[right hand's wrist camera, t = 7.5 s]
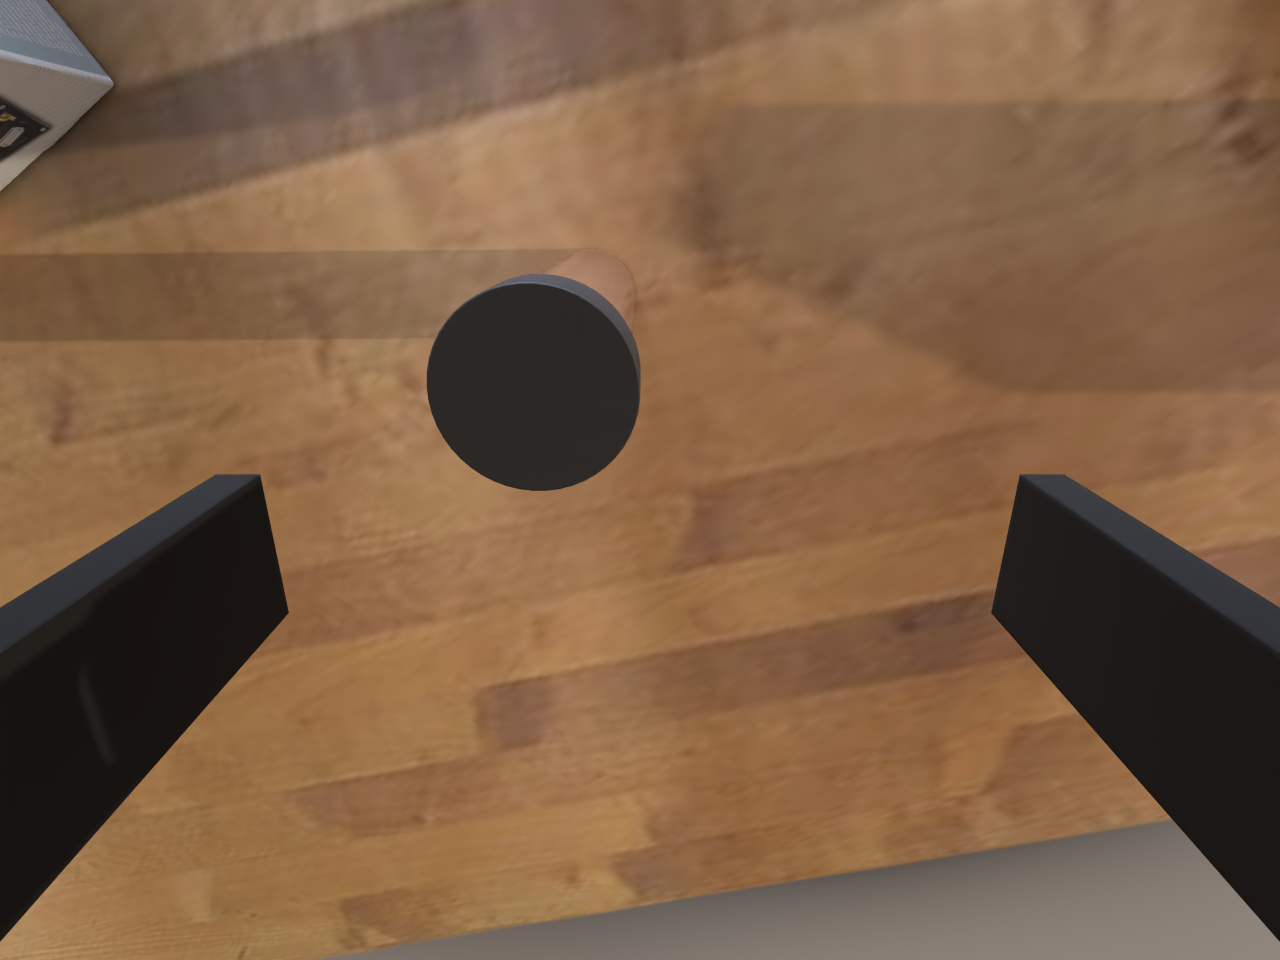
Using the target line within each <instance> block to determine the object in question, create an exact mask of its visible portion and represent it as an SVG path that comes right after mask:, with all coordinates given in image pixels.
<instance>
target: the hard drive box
mask: <svg viewBox="0 0 1280 960" xmlns="http://www.w3.org/2000/svg"><path fill="white" fill-rule="evenodd" d="M113 86H114V84H113V81H112V80H111V79H110V77H109V76H108V75H107V74H106V72H105V71H104V70H103V69H102V67H101V66H100V65H99V64H98V62H97V61H96V60H95V59H94V58H93V56H92V55H91V54H90V53H89V52H88V50H87V49H86V48H85V47H84V45H83V44H82V43H81V42H80V41H79V39H78V38H77V37H76V36H75V34H74V33H73V32H72V31H71V30H70V28H69V27H68V26H67V25H66V23H65V22H64V21H63V20H62V18H61V17H60V16H59V15H58V14H57V12H56V11H55V10H54V9H53V8H52V7H51V5H50V4H49V3H48V2H47V1H46V0H0V191H1V190H2V189H3V188H4V187H5V186H7V185H8V184H9V183H10V182H11V181H12V180H13V179H14V178H15V177H16V176H18V175H19V174H20V173H21V172H22V171H23V170H24V169H25V168H26V167H27V166H28V165H29V164H30V163H31V162H33V161H34V160H35V159H36V158H37V157H38V156H39V155H40V154H41V153H42V152H43V151H45V150H47V149H49V148H50V147H51V146H53V145H54V144H55V143H56V141H57V140H58V139H59V138H60V137H62V136H63V135H64V134H65V133H66V132H67V131H68V130H69V129H70V128H71V127H72V126H73V125H74V123H75V122H77V121H78V120H79V118H80V117H81V116H82V115H83V114H85V113H86V112H87V111H88V110H89V109H90V108H91V107H92V106H93V105H94V104H95V103H96V102H97V101H98V100H99V99H100V98H101V97H102V96H103V95H104V94H106V93H107V92H108V91H109V90H110V89H111V88H112V87H113Z"/></svg>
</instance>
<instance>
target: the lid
mask: <svg viewBox="0 0 1280 960" xmlns="http://www.w3.org/2000/svg"><path fill="white" fill-rule="evenodd" d="M427 392H428V400H429V404H430V408H431V412H432V415H433V417H434V420H435V422H436V425H437V427H438V429H439V430H440V432H441V434H442V436H443V438H444V439H445V441H446V442H447V443H448V445H449V446H450V447H451V449H452V450H453V451H454V452H455V453H456V454H457V455H458V456H459V458H460V459H461V460H463V461H464V462H465V463H466V464H467V465H468V466H470V467H471V468H472V469H474V470H475V471H477V472H478V473H480V474H481V475H483V476H485V477H487V478H489V479H491V480H493V481H495V482H497V483H500V484H503V485H505V486H509V487H513V488H517V489H523V490H532V491H548V490H555V489H561V488H565V487H569V486H573V485H575V484H578V483H580V482H583V481H585V480H587V479H589V478H590V477H592V476H594V475H596V474H597V473H598V472H600V471H601V470H602V469H604V468H605V467H606V466H607V465H608V464H609V463H610V462H611V461H613V460H614V459H615V458H616V456H617V455H618V454H619V452H620V451H621V450H622V449H623V447H624V446H625V444H626V442H627V440H628V439H629V437H630V435H631V432H632V430H633V428H634V425H635V422H636V418H637V415H638V410H639V402H640V360H639V353H638V350H637V346H636V343H635V340H634V337H633V335H632V333H631V330H630V328H629V327H628V325H627V323H626V322H625V320H624V318H623V317H622V316H621V314H620V313H619V312H618V311H617V309H616V308H615V307H614V306H613V305H612V304H611V303H610V302H609V301H608V300H607V299H606V298H605V297H603V296H602V295H601V294H599V293H598V292H597V291H595V290H594V289H592V288H590V287H588V286H587V285H585V284H583V283H580V282H578V281H575V280H573V279H570V278H566V277H562V276H558V275H550V274H530V275H524V276H518V277H515V278H512V279H508V280H506V281H504V282H501V283H499V284H497V285H495V286H493V287H491V288H489V289H487V290H485V291H483V292H481V293H479V294H477V295H476V296H474V297H473V298H471V299H469V300H468V301H466V302H465V303H464V304H463V305H461V306H460V307H459V308H458V309H457V310H456V311H455V312H454V313H453V314H452V315H451V316H450V317H449V319H448V320H447V321H446V322H445V324H444V325H443V327H442V329H441V330H440V332H439V333H438V335H437V338H436V340H435V342H434V344H433V347H432V350H431V354H430V357H429V362H428V368H427Z"/></svg>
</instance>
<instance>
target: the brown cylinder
mask: <svg viewBox="0 0 1280 960" xmlns="http://www.w3.org/2000/svg"><path fill="white" fill-rule="evenodd" d="M539 274H550V275H558V276H562V277H566V278H570V279H573V280H575V281H578V282H580V283H583V284H585V285H587V286H588V287H590V288H592V289H594V290H595V291H597V292H598V293H599V294H601V295H602V296H603V297H605V298H606V299H607V300H608V301H609V302H610V303H611V304H612V305H613V306H614V307H615V308H616V309H617V311H618V312H619V313H620V314H621V316H622V317H623V318H624V320H625V322H626V323H627V325H628V327H629V328H630V330H631V333H632V335H633V327H634V315H635V304H636V286H635V282H634V278H633V276H632V274H631V272H630V270H629V268H628V267H627V266H626V265H625V263H624V262H623V261H622V260H621V259H619V258H618V257H617V256H615V255H614V254H612V253H610V252H607V251H604V250H601V249H584V250H580V251H577V252H575V253H573V254H571V255H569V256H568V257H566V258H564V259H563V260H561V261H559V262H558V263H556V264H554V265H553V266H551V267H549V268H548V269H546V270H544V271H543V272H541V273H539Z"/></svg>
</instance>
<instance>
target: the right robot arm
mask: <svg viewBox="0 0 1280 960" xmlns="http://www.w3.org/2000/svg"><path fill="white" fill-rule="evenodd" d="M288 613H289V612H288V607H287V602H286V597H285V593H284V588H283V583H282V578H281V573H280V568H279V564H278V559H277V554H276V549H275V544H274V539H273V535H272V530H271V525H270V520H269V515H268V511H267V506H266V501H265V496H264V491H263V486H262V482H261V477H260V475H214V476H213V477H211V478H209V479H208V480H206V481H205V482H203V483H201V484H200V485H198V486H196V487H195V488H193V489H192V490H190V491H188V492H187V493H185V494H184V495H182V496H180V497H179V498H177V499H175V500H174V501H172V502H171V503H169V504H167V505H166V506H164V507H162V508H161V509H159V510H158V511H156V512H154V513H153V514H151V515H150V516H148V517H146V518H145V519H143V520H141V521H140V522H138V523H137V524H135V525H133V526H132V527H130V528H128V529H127V530H125V531H124V532H122V533H120V534H119V535H117V536H116V537H114V538H112V539H111V540H109V541H107V542H106V543H104V544H103V545H101V546H99V547H98V548H96V549H94V550H93V551H91V552H90V553H88V554H86V555H85V556H83V557H82V558H80V559H78V560H77V561H75V562H73V563H72V564H70V565H69V566H67V567H65V568H64V569H62V570H60V571H59V572H57V573H56V574H54V575H52V576H51V577H49V578H48V579H46V580H44V581H43V582H41V583H39V584H38V585H36V586H35V587H33V588H31V589H30V590H28V591H26V592H25V593H23V594H22V595H20V596H18V597H17V598H15V599H14V600H12V601H10V602H9V603H7V604H5V605H4V606H2V607H1V608H0V941H1V940H2V939H3V938H4V937H5V936H6V934H7V933H8V932H9V931H10V930H11V929H12V928H13V926H14V925H15V924H16V923H17V922H18V921H19V920H20V919H21V917H22V916H23V915H24V914H25V913H26V912H27V911H28V909H29V908H30V907H31V906H32V905H33V904H34V903H35V901H36V900H37V899H38V898H39V897H40V896H41V895H42V893H43V892H44V891H45V890H46V889H47V888H48V887H49V885H50V884H51V883H52V882H53V881H54V880H55V879H56V877H57V876H58V875H59V874H60V873H61V872H62V871H63V870H64V868H65V867H66V866H67V865H68V864H69V863H70V862H71V860H72V859H73V858H74V857H75V856H76V855H77V854H78V852H79V851H80V850H81V849H82V848H83V847H84V846H85V844H86V843H87V842H88V841H89V840H90V839H91V838H92V836H93V835H94V834H95V833H96V832H97V831H98V830H99V828H100V827H101V826H102V825H103V824H104V823H105V822H106V821H107V819H108V818H109V817H110V816H111V815H112V814H113V813H114V811H115V810H116V809H117V808H118V807H119V806H120V805H121V803H122V802H123V801H124V800H125V799H126V798H127V797H128V795H129V794H130V793H131V792H132V791H133V790H134V789H135V787H136V786H137V785H138V784H139V783H140V782H141V781H142V779H143V778H144V777H145V776H146V775H147V774H148V773H149V772H150V770H151V769H152V768H153V767H154V766H155V765H156V764H157V762H158V761H159V760H160V759H161V758H162V757H163V756H164V754H165V753H166V752H167V751H168V750H169V749H170V748H171V746H172V745H173V744H174V743H175V742H176V741H177V740H178V738H179V737H180V736H181V735H182V734H183V733H184V732H185V730H186V729H187V728H188V727H189V726H190V725H191V724H192V723H193V721H194V720H195V719H196V718H197V717H198V716H199V715H200V713H201V712H202V711H203V710H204V709H205V708H206V707H207V705H208V704H209V703H210V702H211V701H212V700H213V699H214V697H215V696H216V695H217V694H218V693H219V692H220V691H221V689H222V688H223V687H224V686H225V685H226V684H227V683H228V681H229V680H230V679H231V678H232V677H233V676H234V675H235V674H236V672H237V671H238V670H239V669H240V668H241V667H242V666H243V664H244V663H245V662H246V661H247V660H248V659H249V658H250V656H251V655H252V654H253V653H254V652H255V651H256V650H257V648H258V647H259V646H260V645H261V644H262V643H263V642H264V640H265V639H266V638H267V637H268V636H269V635H270V634H271V632H272V631H273V630H274V629H275V628H276V627H277V626H278V625H279V623H280V622H281V621H282V620H283V619H284V618H285V617H286V615H287V614H288ZM991 613H992V614H993V615H994V617H995V618H996V619H997V620H998V621H999V622H1000V623H1001V625H1002V626H1003V627H1004V628H1005V629H1006V630H1007V631H1008V632H1009V634H1010V635H1011V636H1012V637H1013V638H1014V639H1015V640H1016V642H1017V643H1018V644H1019V645H1020V646H1021V647H1022V648H1023V650H1024V651H1025V652H1026V653H1027V654H1028V655H1029V656H1030V658H1031V659H1032V660H1033V661H1034V662H1035V663H1036V664H1037V666H1038V667H1039V668H1040V669H1041V670H1042V671H1043V672H1044V674H1045V675H1046V676H1047V677H1048V678H1049V679H1050V680H1051V681H1052V683H1053V684H1054V685H1055V686H1056V687H1057V688H1058V689H1059V691H1060V692H1061V693H1062V694H1063V695H1064V696H1065V697H1066V699H1067V700H1068V701H1069V702H1070V703H1071V704H1072V705H1073V707H1074V708H1075V709H1076V710H1077V711H1078V712H1079V713H1080V715H1081V716H1082V717H1083V718H1084V719H1085V720H1086V721H1087V723H1088V724H1089V725H1090V726H1091V727H1092V728H1093V729H1094V730H1095V732H1096V733H1097V734H1098V735H1099V736H1100V737H1101V738H1102V740H1103V741H1104V742H1105V743H1106V744H1107V745H1108V746H1109V748H1110V749H1111V750H1112V751H1113V752H1114V753H1115V754H1116V756H1117V757H1118V758H1119V759H1120V760H1121V761H1122V762H1123V764H1124V765H1125V766H1126V767H1127V768H1128V769H1129V770H1130V772H1131V773H1132V774H1133V775H1134V776H1135V777H1136V778H1137V779H1138V781H1139V782H1140V783H1141V784H1142V785H1143V786H1144V787H1145V789H1146V790H1147V791H1148V792H1149V793H1150V794H1151V795H1152V797H1153V798H1154V799H1155V800H1156V801H1157V802H1158V803H1159V805H1160V806H1161V807H1162V808H1163V809H1164V810H1165V811H1166V813H1167V814H1168V815H1169V816H1170V817H1171V818H1172V819H1173V821H1174V822H1175V823H1176V824H1177V825H1178V826H1179V827H1180V828H1181V830H1182V831H1183V832H1184V833H1185V834H1186V835H1187V836H1188V838H1189V839H1190V840H1191V841H1192V842H1193V843H1194V844H1195V846H1196V847H1197V848H1198V849H1199V850H1200V851H1201V852H1202V854H1203V855H1204V856H1205V857H1206V858H1207V859H1208V860H1209V862H1210V863H1211V864H1212V865H1213V866H1214V867H1215V868H1216V869H1217V871H1218V872H1219V873H1220V874H1221V875H1222V876H1223V877H1224V879H1225V880H1226V881H1227V882H1228V883H1229V884H1230V885H1231V887H1232V888H1233V889H1234V890H1235V891H1236V892H1237V893H1238V895H1239V896H1240V897H1241V898H1242V899H1243V900H1244V901H1245V903H1246V904H1247V905H1248V906H1249V907H1250V908H1251V909H1252V911H1253V912H1254V913H1255V914H1256V915H1257V916H1258V917H1259V918H1260V920H1261V921H1262V922H1263V923H1264V924H1265V925H1266V926H1267V928H1268V929H1269V930H1270V931H1271V932H1272V933H1273V934H1274V936H1275V937H1276V938H1277V939H1278V940H1279V941H1280V608H1279V607H1278V606H1276V605H1275V604H1273V603H1271V602H1270V601H1268V600H1266V599H1265V598H1263V597H1262V596H1260V595H1258V594H1257V593H1255V592H1254V591H1252V590H1250V589H1249V588H1247V587H1245V586H1244V585H1242V584H1241V583H1239V582H1237V581H1236V580H1234V579H1232V578H1231V577H1229V576H1228V575H1226V574H1224V573H1223V572H1221V571H1220V570H1218V569H1216V568H1215V567H1213V566H1211V565H1210V564H1208V563H1207V562H1205V561H1203V560H1202V559H1200V558H1198V557H1197V556H1195V555H1194V554H1192V553H1190V552H1189V551H1187V550H1186V549H1184V548H1182V547H1181V546H1179V545H1177V544H1176V543H1174V542H1173V541H1171V540H1169V539H1168V538H1166V537H1164V536H1163V535H1161V534H1160V533H1158V532H1156V531H1155V530H1153V529H1152V528H1150V527H1148V526H1147V525H1145V524H1143V523H1142V522H1140V521H1139V520H1137V519H1135V518H1134V517H1132V516H1130V515H1129V514H1127V513H1126V512H1124V511H1122V510H1121V509H1119V508H1118V507H1116V506H1114V505H1113V504H1111V503H1109V502H1108V501H1106V500H1105V499H1103V498H1101V497H1100V496H1098V495H1096V494H1095V493H1093V492H1092V491H1090V490H1088V489H1087V488H1085V487H1084V486H1082V485H1080V484H1079V483H1077V482H1075V481H1074V480H1072V479H1071V478H1069V477H1067V476H1066V475H1020V477H1019V482H1018V486H1017V491H1016V496H1015V501H1014V506H1013V510H1012V515H1011V520H1010V525H1009V530H1008V535H1007V539H1006V544H1005V549H1004V554H1003V559H1002V564H1001V568H1000V573H999V578H998V583H997V588H996V592H995V597H994V602H993V607H992V612H991Z"/></svg>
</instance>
